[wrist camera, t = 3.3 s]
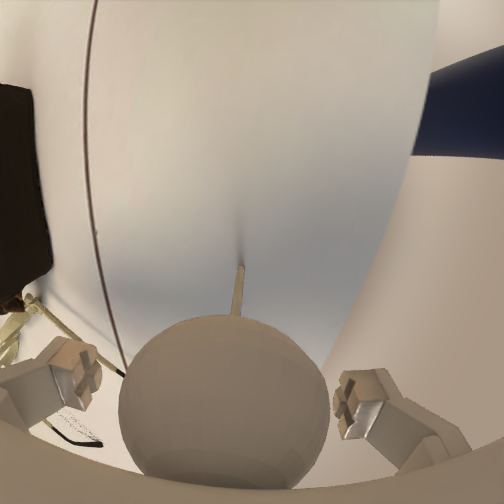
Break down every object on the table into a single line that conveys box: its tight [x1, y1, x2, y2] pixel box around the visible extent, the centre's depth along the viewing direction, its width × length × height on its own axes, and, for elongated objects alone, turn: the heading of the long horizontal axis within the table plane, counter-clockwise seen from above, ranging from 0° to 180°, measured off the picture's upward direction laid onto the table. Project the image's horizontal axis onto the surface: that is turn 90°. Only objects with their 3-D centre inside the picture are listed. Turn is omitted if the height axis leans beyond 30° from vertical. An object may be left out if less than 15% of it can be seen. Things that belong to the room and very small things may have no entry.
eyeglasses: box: [0, 293, 125, 448], centre depth 20 cm, size 17×15×5 cm
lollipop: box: [118, 266, 330, 490], centre depth 12 cm, size 6×6×15 cm
